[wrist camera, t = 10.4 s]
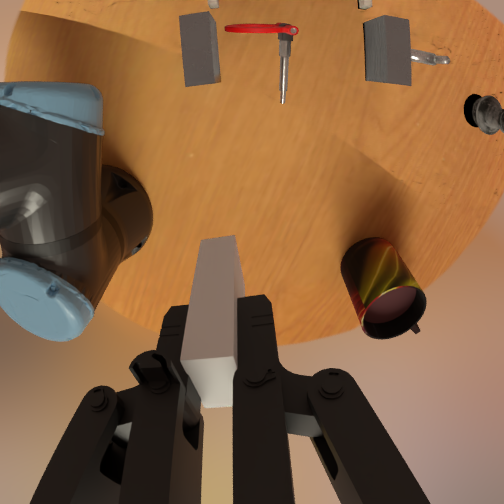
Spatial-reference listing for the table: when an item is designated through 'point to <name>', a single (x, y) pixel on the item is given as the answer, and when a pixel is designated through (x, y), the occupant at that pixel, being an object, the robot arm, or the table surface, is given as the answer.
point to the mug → (382, 289)
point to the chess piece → (484, 113)
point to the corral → (363, 3)
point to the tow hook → (285, 39)
